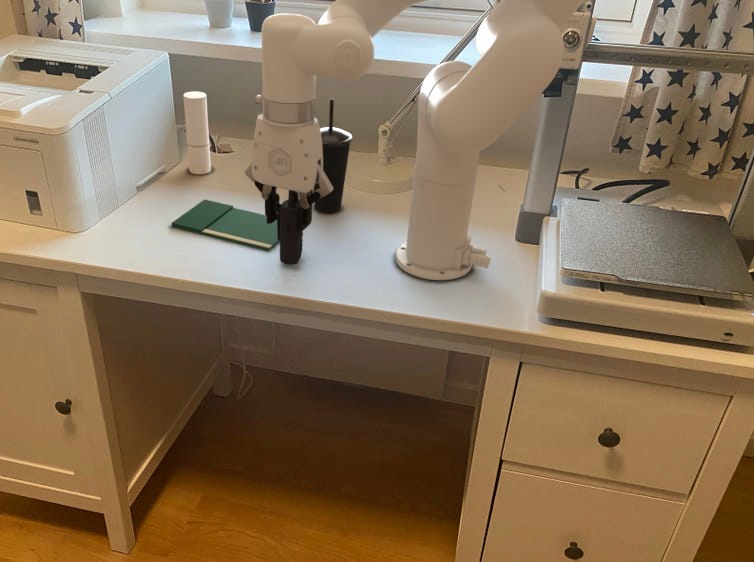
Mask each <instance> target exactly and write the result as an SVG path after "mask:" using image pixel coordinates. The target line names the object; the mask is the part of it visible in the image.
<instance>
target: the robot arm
mask: <svg viewBox="0 0 754 562" xmlns="http://www.w3.org/2000/svg"><path fill="white" fill-rule="evenodd" d="M427 1H429V0H335V1H334V2H333V3H331V5H330V6H329V7H328V8H327V9H326V11H325V12H324V13H323V15H322V16H321V17H320V18H319V21H318V23H315V21H314V20H313V19H312V18H311V17H309V16H307V15H303V14H298V13H276V14H272V15H269V16H268V17H266V18H265V19H264V20H263V22H262V25H261V76H262V77H261V78H262V79H261V81H262V94H261V95H260V94H256V95H255V98H254V103H255V104H256V105H259V106H260V107H261V113H260V114H258V115H257V118H256V123H255V128H254V134H253V143H252V157H251V158H252V159H251V163H250V164H249V166H248V167H247V168H246V170H245V171H244V174H245V176H246V177H247V178H248V179H249V180H250V181H251V182H252V183H253V184H254V186H255V187H256V189H257V190H258V191H259V192H260V193H261V196H260V197H261V198H262V199H263V200H264V215H266V216H267V223H268V224H272V223H273V222H274V221H275V220H276V219H277V218H276V214H275V211H274V209H273V205H274V202H275V201H276V202H279V203H278V204H280V194H279V193H278V192H277V189H283V190H288V191H289V190H292V191H297V192H298V196H299V199H300V203H301V206H300V207H299V208H298V213H297V230H298V231H300V232H304V231H305V229H307V228H308V227H310V225H311V224H312V221H313V204H315V201H317V200H318V199H320V198H321V197H323V196H325V195H327V194H329V193H330V192H331V191H332V190H333V186H332V184H331V183H330V181H329V179H328V178H327V176H326V174H325V173H324V171H323V149H322V138H321V131H320V129H321V126H320V121H319V119H318V118H316V84H317V81H316V80H317V78H316V77H321V78H327V79H332V80H336V81H337V80H338V81H353V80H357V79H359V78H361V77H363V76H364V75H365V74H366V73H367V72H368V71H369V70H370V68H372V65H373V62H374V58H375V46H374V41H373V38H374V37H375V36H377V34H379V33H380V31H381V30H383V29H384V27H386V25H388V24H389V23H390V22H391V21H392V20H393V19H395V18H396V17H397V16H398V15H400V14H401V13H402V12H404V11H405V10H407V9H408V8H410V7H412V6H415V5H417V4H419V3H424V2H427ZM585 1H586V0H500V1H499V2H498V3H497V5H496V6H494V8H492V10H491V11H490V12H489V13H488V14H487V15H486V17H484V19H483V20H482V22H481V23H480V26H479V28H478V29H477V33H476V39H475V40H476V41H475V43H476V44H475V45H476V49H477V52H478V54H479V56H480V57H479V59H478V60H477V61H476V62H475V63H474V64H473V65H471V64H469V63H467V62H465V61H460V60H449V61H445V62H442V63H440V64H438V65H436V67H434V68H433V69H432V70H430V72H429V73H428V74H427V75H426V76H425V79H424V81H423V82H422V85H421V88H420V91H419V95H418V104H417V105H418V107H417V109H418V110H417V139H416V150H415V151H416V152H415V163H414V171H413V180H412V190H411V199H410V207H409V208H410V209H409V218H408V228H407V235H406V236H407V237H406V242H404V243H402V244H401V245H399V247H398V248H397V250H396V251H395V252H396V253H395V261H396V265H398V266H399V267H400V269H402V270H403V271H404V272H406V273H407V274H409V275H412V276H414V277H417V278H420V279H424V280H431V281H451V280H455V279H458V278H461V277H463V276H465V275H467V274H468V273H469V272H470V271H471V270H472V267H473V265H474V266H476V267H479V268H484V269H488V268H489V266H490V263H491V259H492V257H491V256H489V255H487V253H488V251H487V249H483V248H477V247H474V246H473V245H472V244H471V241H472V236H468V233H469V232H468V231H469V225H470V220H471V213H472V206H473V200H474V193H475V187H476V181H477V176H478V170H479V163H480V153H481V151H483V150H485V149H486V148H488V147H489V146H490V145H492V144H493V143H494V142H495V141H497V139H499V138H500V137H501V136H502V135H503V134H504V133H505V131H506V130H508V128H510V126H511V125H513V124H514V122H515V121H516V120H517V119H519V118H520V116H522V114H523V113H524V112H525V111H526V110H527V109H528V108H529V107H530V106H531V105H532V104H533V103H534V102H535V100H537V98H539V97H540V96H541V94H542V93H543V92H544V91H545V90H546V89H547V88H548V87H549V85H550V84H551V83H552V82H553V80H554V79H555V77H556V75H557V74H558V72H559V70H560V68H561V65H562V62H563V59H564V55H565V54H564V53H565V42H564V37H563V34H562V32H561V29H562V28H563V26H564V25H565V24H566V23H567V22H568V21H569V20H570V19H571V18H572V16H573V15H574V14H575V13H576V12H577V10H578V9H579V8H580V7H581V5H582V4H583V3H585ZM315 183H318V184H319V186H320V189H317V190H316V191H315V192H314V186H315Z"/></svg>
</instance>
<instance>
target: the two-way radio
mask: <svg viewBox="0 0 754 562" xmlns="http://www.w3.org/2000/svg"><path fill="white" fill-rule="evenodd" d="M278 203H279V204H278ZM300 206H301V203H300V198H299V194H298V192H297V191H292V190H288V199H285V200H284V201H282V203H280V201H279V202H276V201H275V202H274V205H273V209H274V211H275V214H276V218H277V238H278V240H279V261H280V263H282V264H284V265H285V266H296V265H297V264H299V262H300V260H301V258H302V255H303V245H304V244H303V241H304V240H303V236H304V231H302V232H300V231H298V230H297V213H298V208H299V207H300Z"/></svg>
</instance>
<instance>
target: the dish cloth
mask: <svg viewBox="0 0 754 562" xmlns="http://www.w3.org/2000/svg"><path fill="white" fill-rule="evenodd" d="M171 228H175V229H180V230H183V231H187V232H191V233H195V234H200V235H203V236H207V237H212V238H216V239H218V240H219V239H220V240H224V241H227V242H230V243H231V242H232V243H236V244H240V245H243V246H244V245H245V246H248V247H252V248H256V249H260V250H264V251H270V250H271V249H273V248H274V247H275V246H276V245H277V244H279V243H280V241H279V240H278V238H277V219H276V220H275V221H274V222H273V223H272V224H268V223H267V216H266V215H265V214H261V213H257V212H252V211H248V210H244V209H240V208H235V207H234V205H232V204H231V205H230V204H226V203H223V202H218V201H214V200H209V199H203V200H202V201H200V202H199V203H198V204H196V205H195V206H193V207H192V208H190V209H189V210H187V211H186V212H185V213H183V214H182V215H180V216H179V217H178V218H177V219H174V220H173V221H172V222H171Z"/></svg>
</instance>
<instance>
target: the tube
mask: <svg viewBox="0 0 754 562" xmlns="http://www.w3.org/2000/svg"><path fill="white" fill-rule="evenodd" d="M182 96H183V107H184V120H185V121H184V122H185V132H186V143H187V144H186V146H187V156H188V157H187V158H188V170H189V172H190V173H191V174H194V175H206V174H208V173H211V171H212V167H211V166H212V165H211V163H212V162H211V150H210V149H211V148H210V135H209V117H208V116H209V115H208V103H207V94H206V93H205V92H203V91H195V90H194V91H187V92H185V93H184V94H183V95H182Z"/></svg>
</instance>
